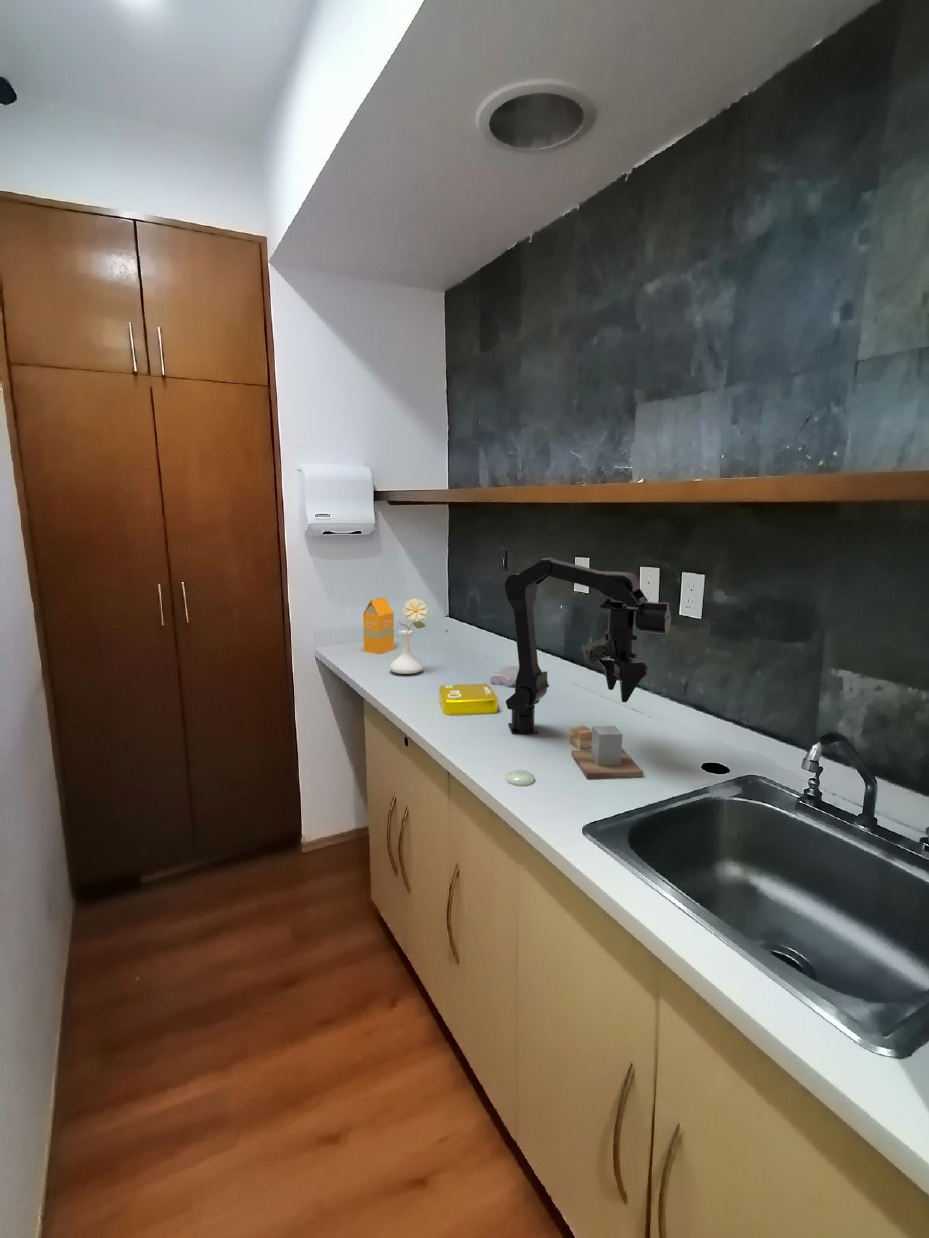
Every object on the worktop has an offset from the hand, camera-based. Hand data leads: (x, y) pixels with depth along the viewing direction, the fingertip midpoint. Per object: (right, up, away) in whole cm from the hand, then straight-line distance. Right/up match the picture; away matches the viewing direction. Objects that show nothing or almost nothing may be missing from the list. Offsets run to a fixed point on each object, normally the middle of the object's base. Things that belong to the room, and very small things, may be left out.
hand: (617, 695), depth 143 cm
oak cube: (-7, -12, +5) cm, 15 cm away
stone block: (-20, -3, +55) cm, 59 cm away
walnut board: (-4, -15, -7) cm, 17 cm away
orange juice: (-68, +5, +95) cm, 116 cm away
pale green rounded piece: (-24, -16, -14) cm, 32 cm away
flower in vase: (-54, 0, +65) cm, 85 cm away
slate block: (-4, -13, -7) cm, 16 cm away
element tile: (-34, -7, +33) cm, 48 cm away
